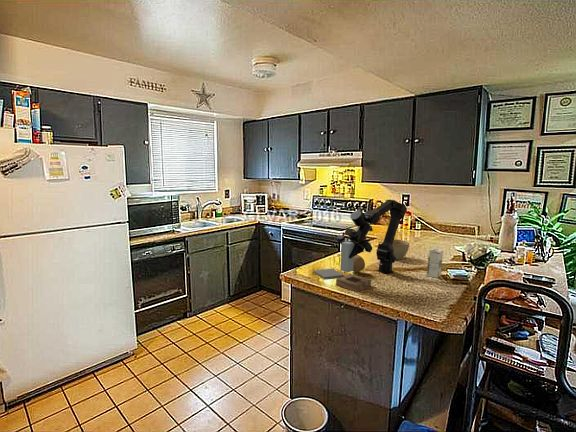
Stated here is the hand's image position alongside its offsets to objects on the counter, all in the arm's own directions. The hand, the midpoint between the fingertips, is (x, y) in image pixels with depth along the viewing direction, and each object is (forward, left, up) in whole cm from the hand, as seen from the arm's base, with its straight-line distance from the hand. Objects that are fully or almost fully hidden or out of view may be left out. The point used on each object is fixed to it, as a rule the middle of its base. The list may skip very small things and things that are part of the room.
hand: (345, 256), depth 159 cm
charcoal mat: (0, -15, -13) cm, 20 cm away
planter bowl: (-59, -31, -14) cm, 68 cm away
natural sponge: (-16, -13, -14) cm, 25 cm away
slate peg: (-1, 0, -7) cm, 7 cm away
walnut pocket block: (-3, +4, -13) cm, 14 cm away
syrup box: (-53, +6, -14) cm, 55 cm away
